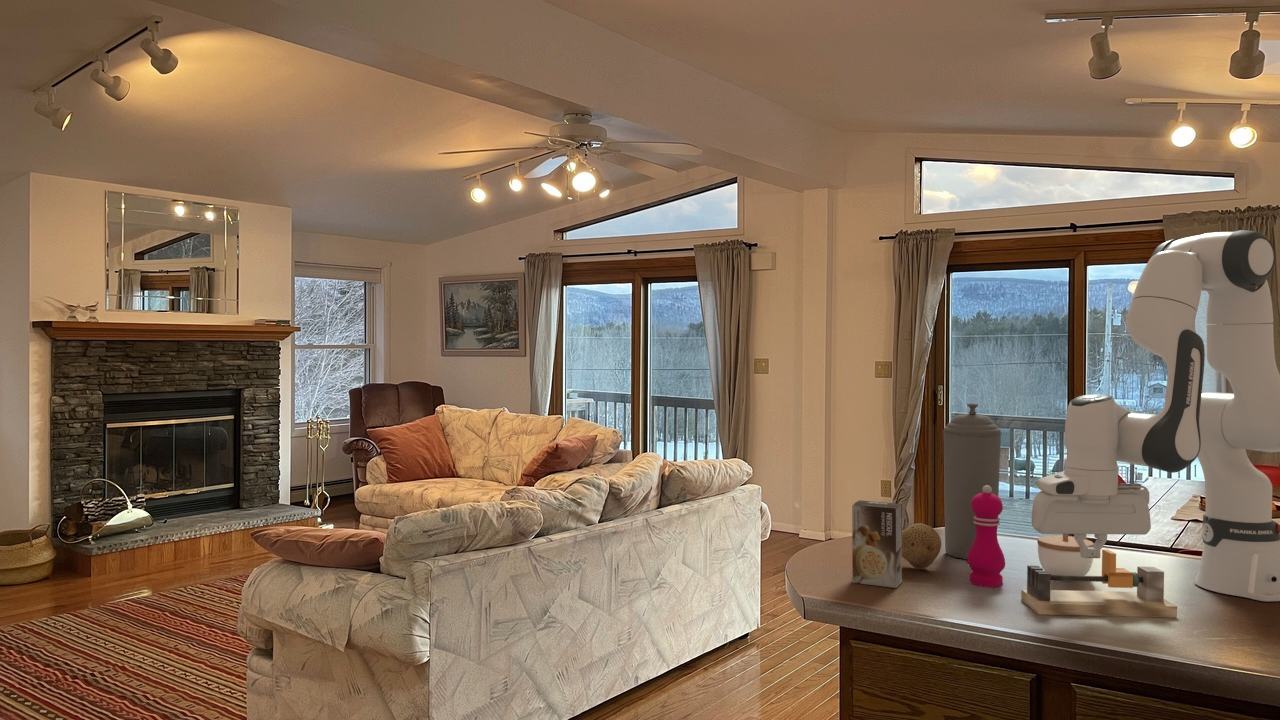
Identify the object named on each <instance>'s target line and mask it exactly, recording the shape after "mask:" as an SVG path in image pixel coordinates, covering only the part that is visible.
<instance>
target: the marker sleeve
mask: <svg viewBox="0 0 1280 720" xmlns="http://www.w3.org/2000/svg"><path fill="white" fill-rule="evenodd" d="M1101 576H1108V582H1101V583H1102V584H1103V585H1104V584H1107V587H1109V588H1115V589H1116V588H1118V589H1120V588H1121V589H1125V588H1126V589H1133V588H1134V587H1133V573H1132V571H1130V570H1128V569H1126V568H1123V567H1122V568H1118V567H1117V553H1116V552H1114V551H1111V550H1110V549H1107V548H1105V549H1104V548H1102V549H1101Z"/></svg>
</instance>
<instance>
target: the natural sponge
mask: <svg viewBox="0 0 1280 720" xmlns="http://www.w3.org/2000/svg"><path fill="white" fill-rule="evenodd" d="M941 548H942V540H941V536H940V535H939V533H938V532H937V531H936V530H935V529H934V528H933V527H932V526H930V525H927V524H925V523H921V522H919V523H912V524H910V525H909V526H907V527H906V528H905V529H904V530H902V559H903V558H904V560H906V561H907V562H908V563H909V564H910V565H911V566H912V567H913V568H915V569H916V570H925V569H927V568H928V567H929V566H931V565H932V564H933V562H934V561H935V560H936V559H937V557H938V556H939V554H940V551H941Z"/></svg>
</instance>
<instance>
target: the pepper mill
mask: <svg viewBox="0 0 1280 720" xmlns="http://www.w3.org/2000/svg"><path fill="white" fill-rule="evenodd" d="M982 490H983V492H984V493H979V494H977V495H975V496H974V497H973V499H972V502H971V508H972V510H973V512H974V513H975V515H976V516H974V523H975V524H976V537H975V540H974V543H973V545H972V547H971V549H970V551H969V554H968V558H967V559H966V560H967V561H966V562H967V565H968V566H969V568H970V570H971V571H970V572H969V582H970V584H973V585H975V586H978V587H985V588H999V587H1002V586H1003V575H1002V574H1001V572H1002V571H1003V570H1004V569H1005V567H1006V559H1005V554H1004V553H1003V550H1002V548H1001V546H1000V543H999V540H998V527H999V526H1000V524H1001V523H1000V520H1001V519H1000V517H999V516H1000V515H1001V513H1002V512H1003V507H1004V506H1003V501H1002V500H1001V498H1000V497H999V496H997V495H995V494H992V493H991V491H992V489H991V487H990V486H988V485H985V486H984V487H983V488H982Z"/></svg>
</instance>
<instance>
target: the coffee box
mask: <svg viewBox="0 0 1280 720" xmlns="http://www.w3.org/2000/svg"><path fill="white" fill-rule="evenodd" d="M902 513H903V505H902V503H896V502H895V503H894V502H883V501H872V500H871V501H870V500H860V499H859V500H857V501H856V502H854V503H853V504H852V506H851V516H852V517H851V525H852V526H851V530H852V531H851V532H852V534H851V535H852V537H851V541H852V544H851V545H852V548H851V549H852V550H851V551H852V552H851V554H852V556H851V557H852V562H851V563H852V571H851V572H852V573H851V574H852V576H851V577H852V584H858V583H860V584H861V585H868V586H877V587H885V588H894V589H897V588H898V587H899V586H900V585H901V584H902V583H903V569H902V568H903V562H902V560H903V557H902V532H903V530H902V529H903V528H902V527H903V526H902V525H903V521H902V520H903V515H902Z"/></svg>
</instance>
